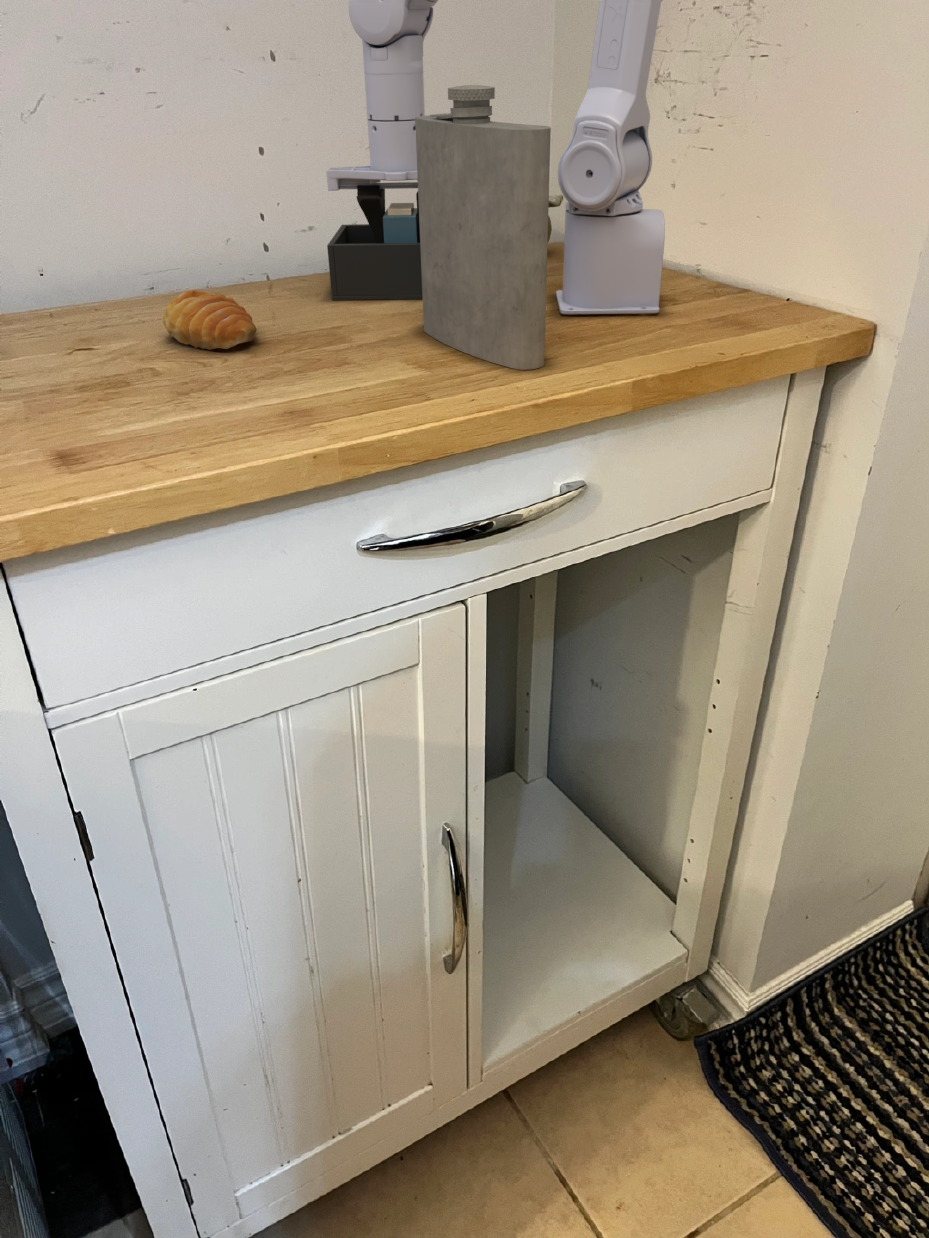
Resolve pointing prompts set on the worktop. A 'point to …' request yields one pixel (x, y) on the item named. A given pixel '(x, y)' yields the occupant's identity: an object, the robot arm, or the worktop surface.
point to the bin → (372, 266)
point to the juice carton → (401, 223)
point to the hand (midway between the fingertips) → (403, 262)
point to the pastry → (208, 320)
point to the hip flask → (484, 230)
